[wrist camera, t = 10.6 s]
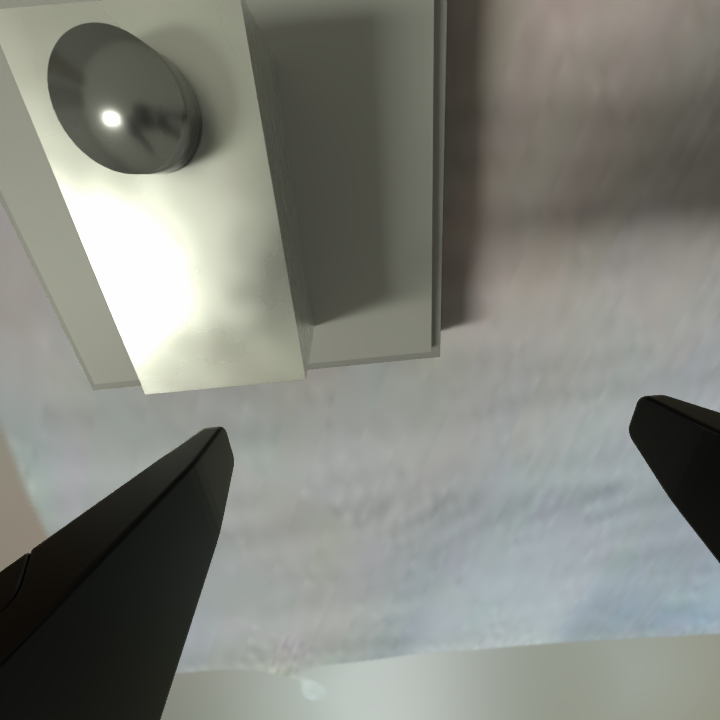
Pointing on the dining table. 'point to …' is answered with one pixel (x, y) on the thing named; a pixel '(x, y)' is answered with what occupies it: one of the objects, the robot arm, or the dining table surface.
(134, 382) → the stand
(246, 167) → the block
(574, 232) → the dining table surface
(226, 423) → the dining table surface
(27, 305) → the dining table surface
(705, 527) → the robot arm
